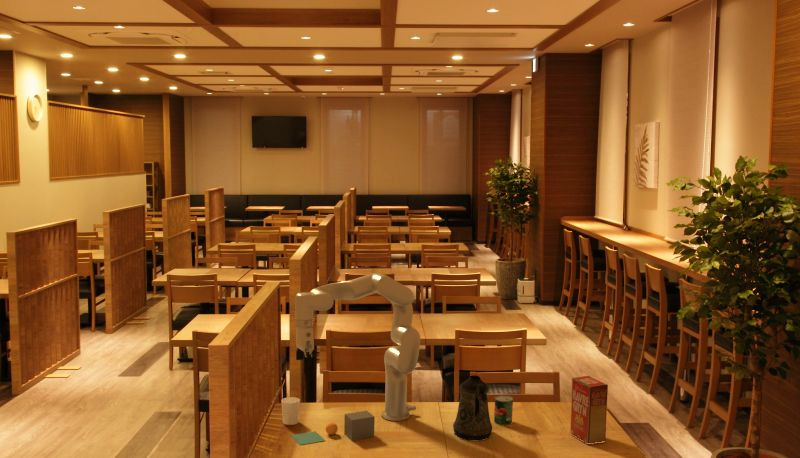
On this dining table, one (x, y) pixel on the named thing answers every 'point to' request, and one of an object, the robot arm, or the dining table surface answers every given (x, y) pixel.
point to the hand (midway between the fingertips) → (303, 362)
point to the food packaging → (589, 409)
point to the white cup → (290, 410)
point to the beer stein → (473, 411)
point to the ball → (331, 428)
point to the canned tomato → (503, 410)
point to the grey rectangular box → (359, 425)
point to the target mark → (307, 438)
